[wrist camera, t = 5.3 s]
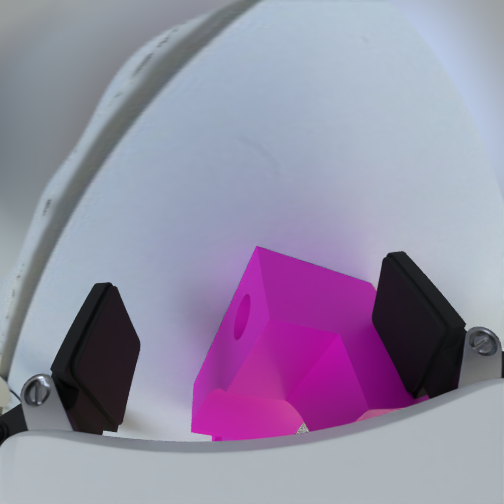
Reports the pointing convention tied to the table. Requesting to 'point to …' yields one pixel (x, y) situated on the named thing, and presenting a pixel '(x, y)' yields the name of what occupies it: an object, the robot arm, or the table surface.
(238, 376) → the toy block
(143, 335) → the table surface
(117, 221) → the table surface
